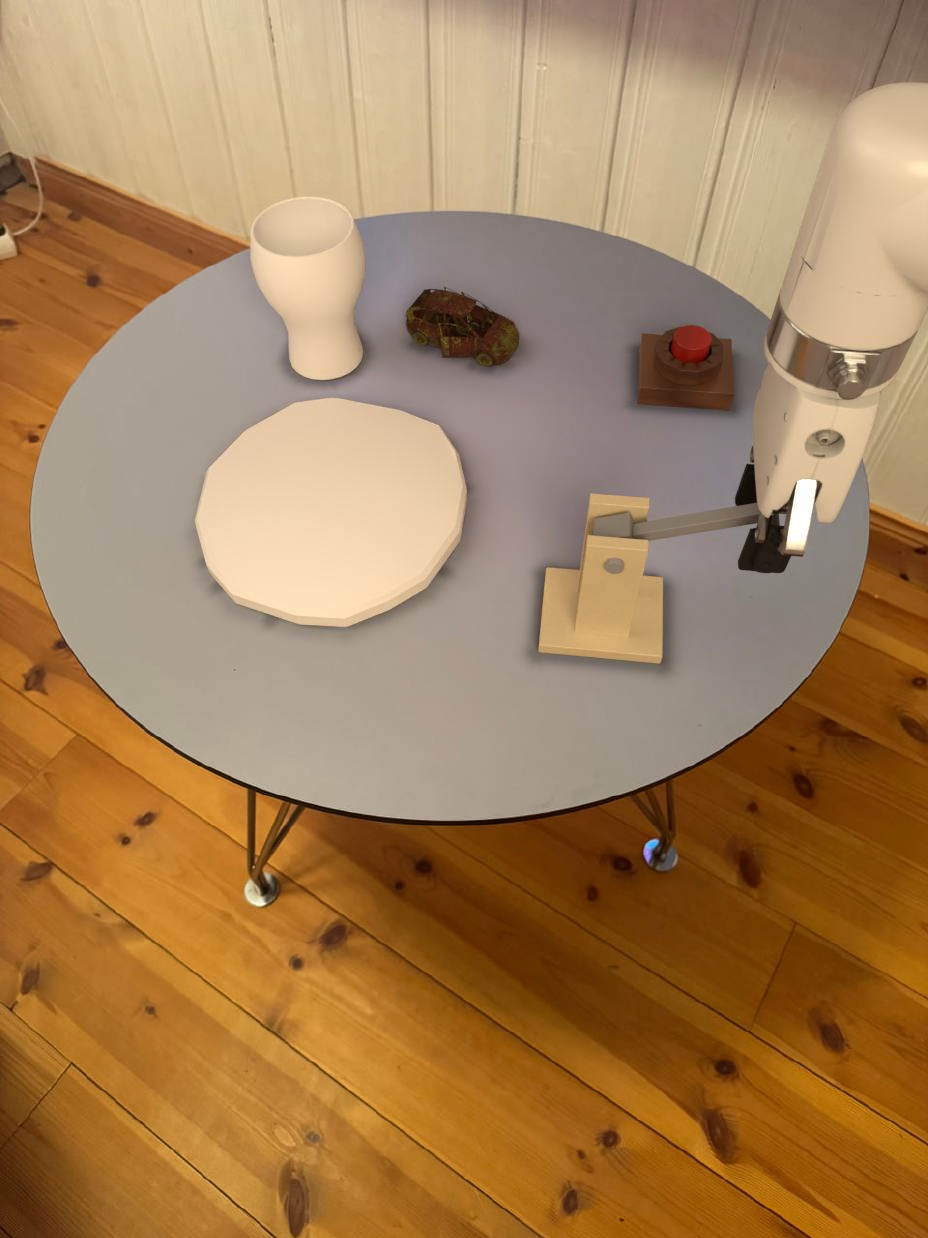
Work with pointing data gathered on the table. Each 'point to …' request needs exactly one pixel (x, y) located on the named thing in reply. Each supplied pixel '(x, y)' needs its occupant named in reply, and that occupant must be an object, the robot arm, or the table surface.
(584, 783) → the table surface
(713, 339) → the button block
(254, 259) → the cup
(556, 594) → the lever base
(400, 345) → the table surface
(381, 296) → the table surface
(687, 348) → the button
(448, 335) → the toy car
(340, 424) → the decorative plate
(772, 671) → the table surface
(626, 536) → the lever
